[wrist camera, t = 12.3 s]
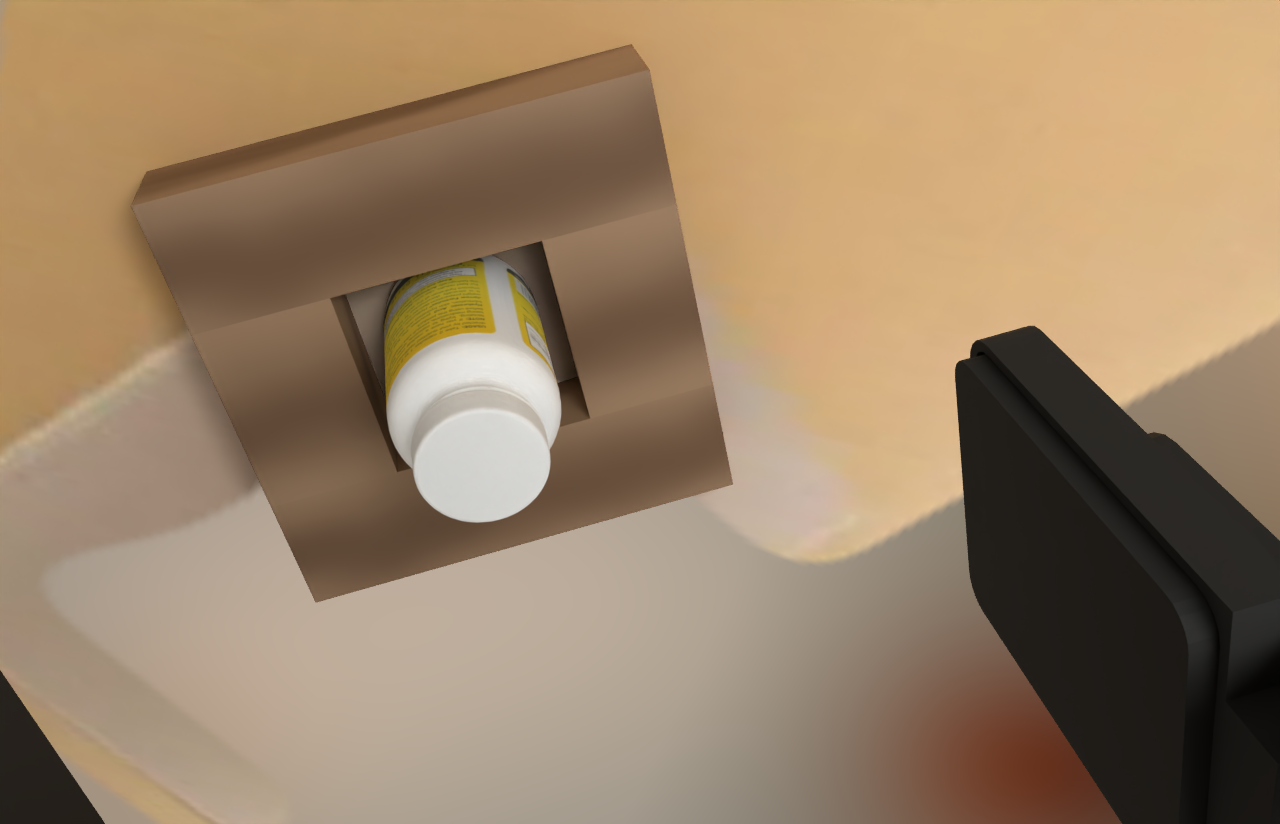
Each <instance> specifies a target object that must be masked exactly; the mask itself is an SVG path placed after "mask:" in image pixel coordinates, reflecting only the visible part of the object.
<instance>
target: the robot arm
mask: <svg viewBox="0 0 1280 824" xmlns="http://www.w3.org/2000/svg"><path fill="white" fill-rule="evenodd" d="M955 381H956V395H957V409H958V422H959V436H960V450H961V464H962V477H963V491H964V505H965V519H966V533H967V546H968V560H969V572H970V579H971V583H972V587H973V590H974V593H975V596H976V598H977V601H978V603H979V605H980V607H981V609H982V610H983V612H984V614H985V615H986V617H987V618H988V620H989V621H990V623H991V624H992V626H993V627H994V629H995V630H996V632H997V634H998V635H999V637H1000V638H1001V640H1002V641H1003V643H1004V644H1005V646H1006V647H1007V649H1008V650H1009V652H1010V653H1011V655H1012V656H1013V658H1014V659H1015V661H1016V662H1017V664H1018V666H1019V667H1020V669H1021V670H1022V672H1023V673H1024V675H1025V676H1026V678H1027V679H1028V681H1029V682H1030V684H1031V685H1032V686H1033V688H1034V690H1035V691H1036V693H1037V694H1038V696H1039V698H1040V699H1041V701H1042V702H1043V704H1044V705H1045V707H1046V708H1047V710H1048V711H1049V713H1050V714H1051V716H1052V717H1053V719H1054V720H1055V722H1056V723H1057V725H1058V726H1059V728H1060V730H1061V731H1062V733H1063V734H1064V736H1065V737H1066V739H1067V740H1068V742H1069V743H1070V745H1071V746H1072V748H1073V749H1074V751H1075V752H1076V754H1077V755H1078V757H1079V759H1080V760H1081V761H1082V763H1083V765H1084V766H1085V768H1086V769H1087V771H1088V772H1089V774H1090V775H1091V777H1092V778H1093V780H1094V781H1095V783H1096V784H1097V786H1098V787H1099V789H1100V791H1101V792H1102V794H1103V795H1104V797H1105V798H1106V800H1107V801H1108V803H1109V804H1110V806H1111V807H1112V809H1113V810H1114V812H1115V813H1116V815H1117V816H1118V818H1119V819H1120V821H1121V822H1122V824H1280V541H1279V540H1278V539H1277V538H1276V537H1275V536H1274V535H1273V534H1272V533H1271V532H1270V531H1269V530H1268V529H1267V528H1266V527H1264V526H1263V525H1262V524H1261V523H1260V522H1259V521H1258V520H1257V519H1256V518H1255V517H1254V516H1253V515H1252V514H1251V513H1250V512H1248V510H1247V509H1245V508H1244V507H1243V506H1242V505H1241V504H1240V503H1239V502H1238V501H1237V500H1236V499H1235V498H1234V497H1233V496H1232V495H1231V494H1230V493H1229V492H1228V491H1226V490H1225V489H1224V488H1223V487H1222V486H1221V485H1220V484H1219V483H1218V482H1217V481H1216V480H1215V479H1214V478H1213V477H1212V476H1211V475H1210V474H1209V473H1208V472H1207V471H1206V470H1204V469H1203V468H1202V467H1201V466H1200V465H1199V464H1198V463H1197V462H1196V461H1195V460H1194V459H1193V458H1192V457H1191V456H1190V455H1189V454H1188V453H1186V452H1185V451H1184V450H1183V449H1182V448H1181V447H1180V446H1179V445H1178V444H1177V443H1176V442H1174V441H1173V440H1172V439H1170V438H1169V437H1167V436H1166V435H1164V434H1159V433H1150V434H1147V433H1146V432H1145V431H1144V430H1143V429H1142V428H1141V427H1140V426H1139V425H1138V424H1137V423H1136V422H1134V420H1132V418H1130V417H1129V416H1128V415H1127V414H1126V413H1125V412H1124V411H1123V410H1122V409H1121V408H1120V407H1119V406H1118V405H1117V404H1116V403H1115V402H1114V401H1113V400H1112V399H1111V398H1110V397H1109V396H1108V395H1107V394H1106V393H1105V392H1104V391H1103V390H1102V389H1101V388H1100V387H1099V386H1098V385H1097V384H1096V383H1095V382H1093V381H1092V380H1091V379H1090V378H1089V377H1088V376H1087V375H1086V374H1085V373H1084V372H1083V371H1082V370H1081V369H1080V368H1079V367H1078V366H1077V365H1076V364H1075V363H1074V362H1073V361H1072V360H1071V359H1070V358H1069V357H1068V356H1067V355H1066V354H1065V353H1064V352H1063V351H1062V350H1061V349H1060V348H1059V347H1058V346H1057V345H1055V344H1054V343H1053V342H1052V341H1051V340H1050V339H1049V338H1048V337H1047V336H1046V335H1045V334H1044V333H1043V332H1042V331H1041V330H1040V329H1038V328H1037V327H1035V326H1027V327H1023V328H1020V329H1016V330H1013V331H1009V332H1005V333H1002V334H998V335H995V336H991V337H988V338H984V339H980V340H977V341H975V342H974V343H973V344H972V348H971V352H970V358H969V359H965V360H962V361H959V362H958V363H957V364H956V368H955ZM0 824H105V823H104V822H103V820H102V818H101V817H100V816H99V814H98V813H97V811H96V810H95V808H94V807H93V805H92V804H91V802H90V801H89V799H88V798H87V796H86V795H85V794H84V792H83V791H82V789H81V788H80V786H79V785H78V783H77V782H76V780H75V779H74V777H73V776H72V775H71V773H70V772H69V770H68V769H67V768H66V766H65V764H64V763H63V761H62V760H61V758H60V757H59V756H58V754H57V753H56V751H55V750H54V748H53V747H52V745H51V744H50V742H49V741H48V739H47V738H46V737H45V735H44V734H43V732H42V731H41V729H40V728H39V726H38V725H37V723H36V722H35V720H34V719H33V717H32V716H31V715H30V713H29V712H28V710H27V709H26V707H25V706H24V704H23V703H22V701H21V700H20V698H19V697H18V696H17V694H16V693H15V691H14V690H13V688H12V687H11V685H10V684H9V682H8V681H7V679H6V678H5V677H4V675H3V674H2V672H1V671H0Z"/></svg>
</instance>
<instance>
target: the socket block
mask: <svg viewBox="0 0 1280 824" xmlns="http://www.w3.org/2000/svg"><path fill="white" fill-rule="evenodd" d="M131 207H132V210H133V212H134V214H135V216H136V218H137V220H138V222H139V225H140V227H141V229H142V231H143V233H144V235H145V237H146V240H147V242H148V244H149V246H150V248H151V250H152V252H153V255H154V257H155V259H156V261H157V263H158V265H159V267H160V270H161V272H162V274H163V276H164V278H165V280H166V282H167V285H168V287H169V289H170V291H171V293H172V295H173V297H174V300H175V302H176V304H177V306H178V308H179V310H180V313H181V315H182V317H183V319H184V321H185V323H186V325H187V328H188V330H189V332H190V334H191V336H192V338H193V340H194V343H195V345H196V347H197V349H198V351H199V353H200V355H201V358H202V360H203V362H204V364H205V366H206V368H207V370H208V373H209V375H210V377H211V379H212V381H213V383H214V385H215V388H216V390H217V392H218V394H219V396H220V398H221V400H222V403H223V405H224V407H225V409H226V411H227V413H228V415H229V418H230V420H231V422H232V424H233V426H234V428H235V430H236V433H237V435H238V437H239V439H240V441H241V443H242V445H243V448H244V450H245V452H246V454H247V456H248V458H249V460H250V463H251V465H252V467H253V469H254V471H255V473H256V475H257V478H258V480H259V482H260V484H261V486H262V488H263V490H264V493H265V495H266V497H267V499H268V501H269V503H270V505H271V508H272V510H273V512H274V514H275V516H276V518H277V521H278V523H279V525H280V527H281V529H282V531H283V533H284V536H285V538H286V540H287V542H288V544H289V546H290V548H291V550H292V552H293V555H294V557H295V559H296V561H297V563H298V565H299V568H300V570H301V572H302V574H303V576H304V578H305V581H306V583H307V585H308V587H309V589H310V591H311V593H312V596H313V598H314V600H315V602H319V601H323V600H326V599H330V598H334V597H337V596H340V595H344V594H348V593H351V592H354V591H358V590H362V589H365V588H369V587H372V586H376V585H379V584H383V583H387V582H390V581H394V580H397V579H401V578H404V577H408V576H411V575H415V574H418V573H421V572H425V571H429V570H432V569H436V568H439V567H443V566H447V565H450V564H454V563H457V562H461V561H464V560H468V559H471V558H475V557H478V556H482V555H485V554H488V553H492V552H496V551H500V550H503V549H507V548H510V547H514V546H517V545H521V544H524V543H528V542H531V541H535V540H538V539H542V538H545V537H549V536H553V535H556V534H560V533H563V532H567V531H570V530H574V529H577V528H581V527H584V526H588V525H591V524H595V523H598V522H602V521H606V520H609V519H613V518H616V517H620V516H623V515H627V514H630V513H634V512H637V511H640V510H644V509H648V508H651V507H655V506H658V505H662V504H666V503H669V502H672V501H676V500H680V499H683V498H687V497H690V496H694V495H697V494H701V493H704V492H708V491H711V490H715V489H719V488H722V487H726V486H729V485H733V482H732V477H731V472H730V467H729V462H728V457H727V452H726V447H725V442H724V437H723V432H722V428H721V423H720V418H719V413H718V408H717V403H716V398H715V393H714V388H713V383H712V378H711V373H710V368H709V363H708V358H707V353H706V348H705V343H704V338H703V333H702V328H701V323H700V318H699V313H698V308H697V303H696V298H695V294H694V289H693V284H692V279H691V274H690V269H689V264H688V259H687V254H686V249H685V244H684V239H683V234H682V229H681V224H680V219H679V214H678V209H677V204H676V199H675V194H674V189H673V184H672V179H671V174H670V169H669V165H668V160H667V155H666V150H665V145H664V140H663V135H662V130H661V125H660V120H659V115H658V110H657V105H656V100H655V95H654V90H653V85H652V80H651V75H650V70H649V68H648V67H647V66H646V64H645V63H644V61H643V60H642V59H641V57H640V56H639V54H638V53H637V51H636V50H635V49H634V47H633V46H632V44H631V45H628V46H624V47H620V48H616V49H612V50H609V51H605V52H601V53H597V54H593V55H590V56H586V57H582V58H578V59H574V60H571V61H567V62H563V63H559V64H555V65H551V66H548V67H544V68H540V69H536V70H532V71H529V72H525V73H521V74H517V75H513V76H510V77H506V78H502V79H498V80H494V81H491V82H487V83H483V84H479V85H475V86H472V87H468V88H464V89H460V90H456V91H452V92H449V93H445V94H441V95H437V96H433V97H430V98H426V99H422V100H418V101H414V102H411V103H407V104H403V105H399V106H395V107H392V108H388V109H384V110H380V111H376V112H373V113H369V114H365V115H361V116H357V117H353V118H350V119H346V120H342V121H338V122H334V123H331V124H327V125H323V126H319V127H315V128H312V129H308V130H304V131H300V132H296V133H293V134H289V135H285V136H281V137H277V138H274V139H270V140H266V141H262V142H258V143H254V144H251V145H247V146H243V147H239V148H235V149H232V150H228V151H224V152H220V153H216V154H213V155H209V156H205V157H201V158H197V159H194V160H190V161H186V162H182V163H178V164H175V165H171V166H167V167H163V168H159V169H155V170H152V171H148V172H146V174H145V176H144V179H143V181H142V183H141V185H140V188H139V190H138V192H137V194H136V196H135V199H134V201H133V203H132V205H131ZM540 241H541V243H542V246H543V250H544V254H545V257H546V261H547V265H548V268H549V272H550V276H551V279H552V283H553V287H554V290H555V294H556V298H557V301H558V305H559V309H560V313H561V316H562V320H563V324H564V327H565V331H566V335H567V338H568V342H569V346H570V349H571V353H572V357H573V360H574V364H575V368H576V371H577V375H578V378H574V379H571V380H567V381H563V382H560V383H557V384H558V387H559V392H560V400H561V421H560V426H559V429H558V432H557V436H556V438H555V440H554V443H553V445H552V446H551V448H550V461H551V463H550V471H549V475H548V478H547V481H546V483H545V485H544V487H543V489H542V491H541V492H540V493H539V495H538V496H537V497H536V498H535V499H534V500H533V501H532V502H531V503H530V504H529V505H528V506H526V507H525V508H524V509H522V510H521V511H519V512H518V513H516V514H513V515H511V516H509V517H507V518H504V519H500V520H496V521H491V522H479V523H477V522H466V521H460V520H457V519H453V518H450V517H448V516H446V515H444V514H442V513H440V512H439V511H437V510H436V509H434V508H433V507H432V506H431V505H430V504H429V503H428V502H427V501H426V500H425V499H424V498H423V496H422V495H421V494H420V492H419V490H418V488H417V485H416V483H415V480H414V475H413V469H412V468H411V467H410V466H409V465H408V464H407V463H406V462H405V461H404V460H403V458H402V457H401V456H400V454H399V453H398V451H397V449H396V448H395V446H394V443H393V441H392V439H391V436H390V432H389V427H388V421H387V412H386V401H385V398H384V396H383V393H382V390H381V388H380V385H379V382H378V380H377V377H376V374H375V372H374V369H373V366H372V364H371V361H370V359H369V356H368V353H367V351H366V348H365V345H364V343H363V340H362V337H361V335H360V332H359V329H358V327H357V324H356V322H355V319H354V316H353V314H352V311H351V308H350V306H349V303H348V300H347V298H346V295H345V294H347V293H351V292H355V291H358V290H362V289H366V288H369V287H373V286H377V285H381V284H384V283H388V282H392V281H395V280H399V279H403V278H406V277H410V276H414V275H418V274H421V273H425V272H429V271H432V270H436V269H440V268H443V267H447V266H451V265H455V264H458V263H462V262H466V261H469V260H473V259H477V258H480V257H484V256H488V255H492V254H495V253H499V252H503V251H506V250H510V249H514V248H517V247H521V246H525V245H529V244H532V243H536V242H540Z"/></svg>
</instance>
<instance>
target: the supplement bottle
mask: <svg viewBox="0 0 1280 824" xmlns="http://www.w3.org/2000/svg"><path fill="white" fill-rule="evenodd" d="M384 354H385V385H386V412H387V421H388V427H389V432H390V436H391V439H392V441H393V443H394V446H395V448H396V449H397V451H398V453H399V454H400V456H401V457H402V458H403V460H404V461H405V462H406V463H407V464H408V465H409V466H410V467H411V468H412V469H413V475H414V480H415V483H416V485H417V488H418V490H419V492H420V494H421V495H422V496H423V498H424V499H425V500H426V501H427V502H428V503H429V504H430V505H431V506H432V507H433V508H434V509H436V510H437V511H439V512H440V513H442V514H444V515H446V516H448V517H450V518H453V519H457V520H460V521H466V522H477V523H479V522H491V521H496V520H500V519H504V518H507V517H509V516H511V515H513V514H516V513H518V512H519V511H521V510H522V509H524V508H525V507H526V506H528V505H529V504H530V503H531V502H532V501H533V500H534V499H535V498H536V497H537V496H538V495H539V493H540V492H541V491H542V489H543V487H544V485H545V483H546V481H547V478H548V475H549V471H550V463H551V461H550V448H551V446H552V445H553V443H554V440H555V438H556V436H557V432H558V429H559V426H560V421H561V400H560V392H559V387H558V384H557V380H556V376H555V373H554V369H553V365H552V361H551V358H550V354H549V350H548V346H547V343H546V339H545V335H544V331H543V327H542V323H541V320H540V315H539V312H538V309H537V305H536V302H535V299H534V297H533V294H532V292H531V290H530V288H529V286H528V285H527V283H526V282H525V280H524V279H523V277H522V276H521V275H520V274H519V273H518V272H517V271H516V270H515V269H514V268H513V267H511V266H510V265H509V264H507V263H506V262H504V261H502V260H501V259H499V258H496V257H494V256H492V255H488V256H484V257H480V258H477V259H473V260H469V261H466V262H462V263H458V264H455V265H451V266H447V267H443V268H440V269H436V270H432V271H429V272H425V273H421V274H418V275H414V276H410V277H406V278H403V279H399V280H398V282H397V283H396V285H395V286H394V288H393V290H392V292H391V294H390V296H389V299H388V302H387V305H386V310H385V317H384Z"/></svg>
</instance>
